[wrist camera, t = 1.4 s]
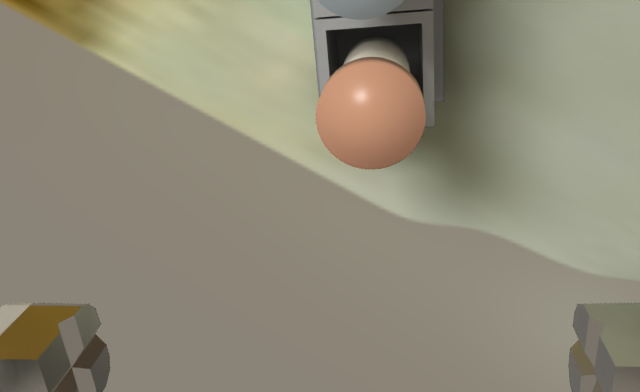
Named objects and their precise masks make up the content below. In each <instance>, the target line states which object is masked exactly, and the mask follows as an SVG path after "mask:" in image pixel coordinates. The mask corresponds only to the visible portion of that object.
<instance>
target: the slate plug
mask: <svg viewBox="0 0 640 392" xmlns="http://www.w3.org/2000/svg"><path fill="white" fill-rule="evenodd" d="M317 1H318V2H319V3H320V4H321V5H322V6H324V7H325V8H326V9H327V10H329V11H331V12H332V13H334V14H336V15H338V16H341V17H344V18H348V19H354V20H367V19H373V18H376V17H380V16H382V15H384V14H387V13H388V12H390V11H392V10H393V9H395V8H396V7H397V6H399V5H400V4H401V3H402V2H403V1H404V0H317Z"/></svg>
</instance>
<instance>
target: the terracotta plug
mask: <svg viewBox="0 0 640 392" xmlns="http://www.w3.org/2000/svg"><path fill="white" fill-rule="evenodd" d="M425 122H426V112H425V104H424V99H423V94H422V91H421V88H420V86H419V84H418V82H417V81H416V79H415V78H414V77H413V75H412V74H411V73H410V67H409V61H408V57H407V55H406V53H405V51H404V50H403V49H402V47H401V46H400V45H399V44H397V43H396V42H395V41H393V40H391V39H389V38H385V37H380V36H374V37H369V38H365V39H363V40H361V41H359V42H358V43H357V44H355V45H354V46H353V47H352V48H351V50H350V51H349V53H348V54H347V56H346V59H345V62H344V64H343V66H341V67H340V68H339V69H337V70H336V71H335V72H334V73H333V74H332V75H331V77H330V78H329V79H328V81H327V83H326V84H325V86H324V89H323V91H322V93H321V96H320V98H319V101H318V104H317V109H316V124H317V129H318V132H319V135H320V137H321V140H322V142H323V143H324V145H325V146H326V148H327V149H328V150H329V151H330V152H331V153H332V154H333V155H334V156H335V157H336V158H338V159H339V160H340V161H342V162H344V163H346V164H348V165H350V166H353V167H357V168H361V169H381V168H385V167H389V166H391V165H394V164H396V163H398V162H400V161H401V160H403V159H404V158H406V157H407V156H408V155H409V154H410V153H411V152H412V151H413V150H414V149H415V147H416V146H417V144H418V143H419V141H420V139H421V137H422V134H423V131H424V128H425Z"/></svg>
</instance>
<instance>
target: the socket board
mask: <svg viewBox="0 0 640 392" xmlns="http://www.w3.org/2000/svg"><path fill="white" fill-rule="evenodd" d="M310 5H311V16H312V27H313V37H314V48H315V59H316V70H317V80H318V91H319V98H320V96H321V93H322V91H323V89H324V86H325V84H326V83H327V81H328V79H329V78H330V77H331V75H332V74H333V73H334V72H335V71H336V70H337V69H339V68H340V67H341V66H343V64H344V62H345V59H346V56H347V54H348V53H349V51H350V50H351V48H352V47H353V46H354V45H355V44H357V43H358V42H359V41H361V40H363V39H365V38H369V37H374V36H380V37H385V38H389V39H391V40H393V41H395V42H396V43H397V44H399V45H400V46H401V47H402V49H403V50H404V51H405V53H406V55H407V57H408V61H409V67H410V73H411V74H412V75H413V77H414V78H415V79H416V81H417V82H418V84H419V86H420V88H421V91H422V94H423V99H424V104H425V112H426V122H425V127H431V126H435V120H434V102H443V101H444V67H443V0H404V1H403V2H402V3H401V4H400V5H399V6H397V7H396V8H395V9H393V10H392V11H390V12H388V13H387V14H384V15H382V16H380V17H376V18H373V19H367V20H354V19H348V18H344V17H341V16H338V15H336V14H334V13H332V12H331V11H329V10H327V9H326V8H325V7H324V6H322V5H321V4H320V3H319V2H318V1H317V0H310Z"/></svg>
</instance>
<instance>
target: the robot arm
mask: <svg viewBox="0 0 640 392" xmlns="http://www.w3.org/2000/svg"><path fill="white" fill-rule="evenodd" d="M100 325H101V323H100V320H99V317H98V313H97V311H96V308H94V307H93V306H91V305H90V304H73V303H10V304H6V305H3V306H2V307H1V308H0V392H103V390H104V389H105V387H106V383H107V380H108V376H109V371H110V356H109V353H108V349H107V345H106V344H105V343H104V342H103V341H102V340H101V339H100V338H99V337H98V336H97V335H96V332H97V331H98V329H99V327H100ZM573 327H574V330H575V332H576V334H577V336H578V339H579V340H578V341H577V342H576V343H575V344H574V345H573V346H572V347H571V348H570V355H569V378H570V386H571V389H572V392H640V303H600V304H599V303H596V304H577V307H576V309H575V313H574V320H573Z"/></svg>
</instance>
